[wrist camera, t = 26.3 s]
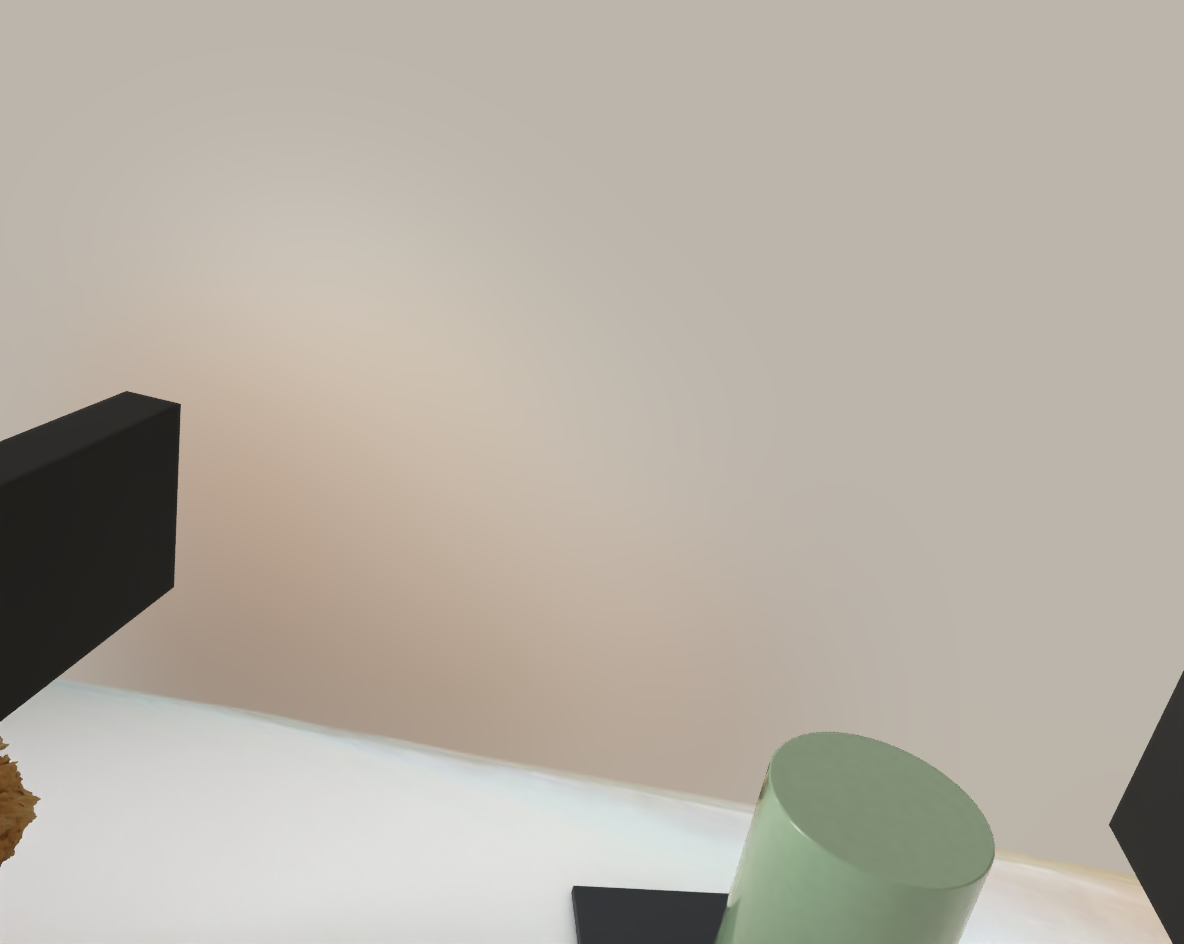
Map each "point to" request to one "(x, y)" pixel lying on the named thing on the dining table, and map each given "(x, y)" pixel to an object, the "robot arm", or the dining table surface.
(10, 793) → the stuffed squirrel
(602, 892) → the mat
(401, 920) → the dining table surface
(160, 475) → the robot arm
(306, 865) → the dining table surface
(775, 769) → the canister
